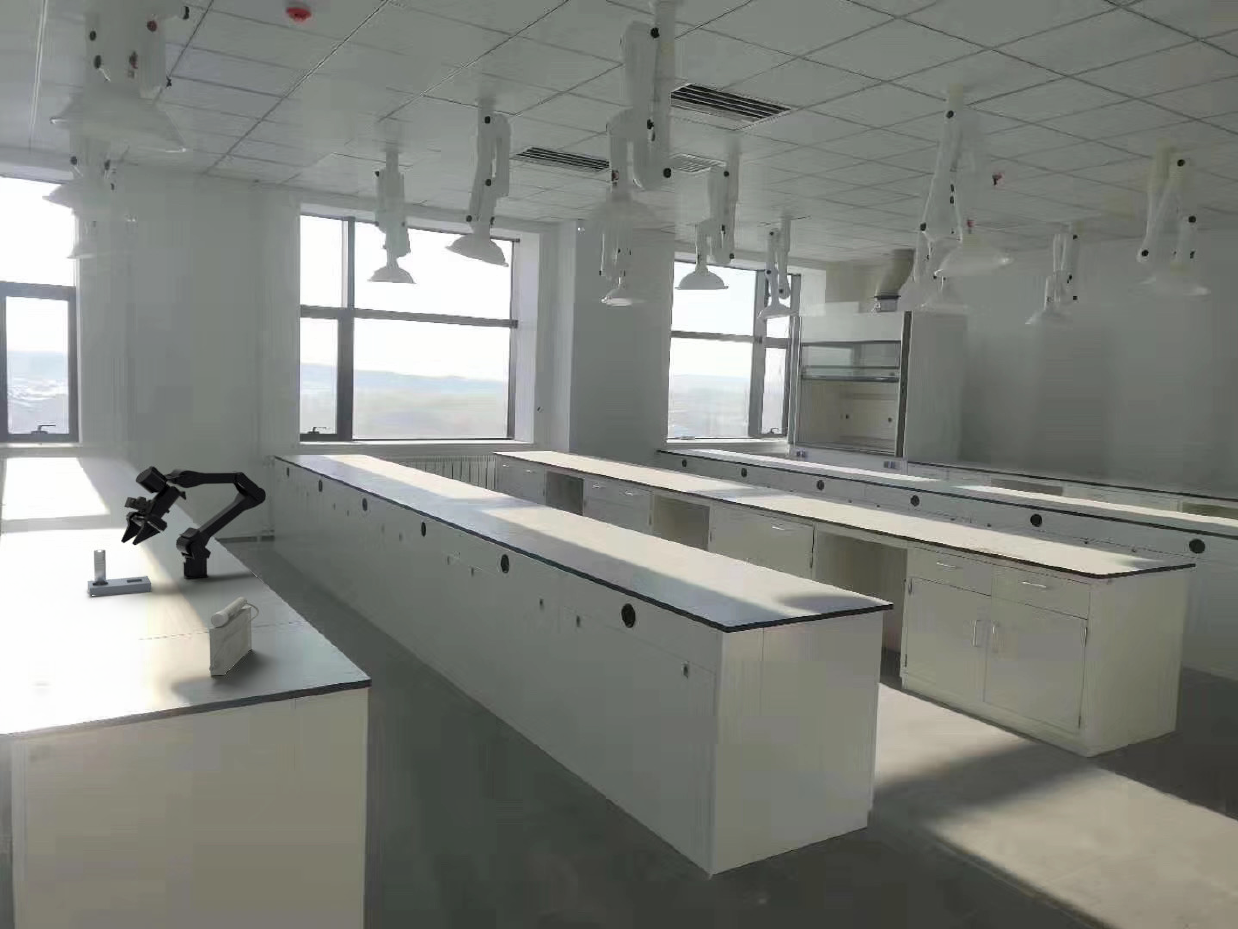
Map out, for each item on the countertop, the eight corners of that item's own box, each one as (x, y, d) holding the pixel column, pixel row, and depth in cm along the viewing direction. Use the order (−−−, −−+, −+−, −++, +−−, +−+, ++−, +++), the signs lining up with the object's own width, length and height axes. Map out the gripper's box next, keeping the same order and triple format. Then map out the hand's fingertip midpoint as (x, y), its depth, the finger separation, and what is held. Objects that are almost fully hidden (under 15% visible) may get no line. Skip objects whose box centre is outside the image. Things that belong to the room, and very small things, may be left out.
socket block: (147, 584, 281) (147, 576, 281) (151, 591, 273) (151, 582, 273) (87, 589, 273) (87, 581, 272) (90, 596, 264) (89, 588, 264)
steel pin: (107, 590, 272) (106, 549, 271) (105, 593, 269) (104, 551, 268) (96, 591, 271) (94, 549, 270) (93, 593, 268) (92, 551, 267)
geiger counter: (234, 593, 220) (194, 621, 195) (261, 593, 220) (225, 621, 196) (234, 649, 221) (196, 684, 197) (261, 649, 222) (226, 684, 197)
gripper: (129, 485, 284) (94, 525, 277) (152, 487, 272) (116, 529, 265) (158, 507, 291) (125, 546, 284) (182, 510, 278) (147, 551, 271)
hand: (127, 543), depth 276 cm, fingers open, 9 cm apart
